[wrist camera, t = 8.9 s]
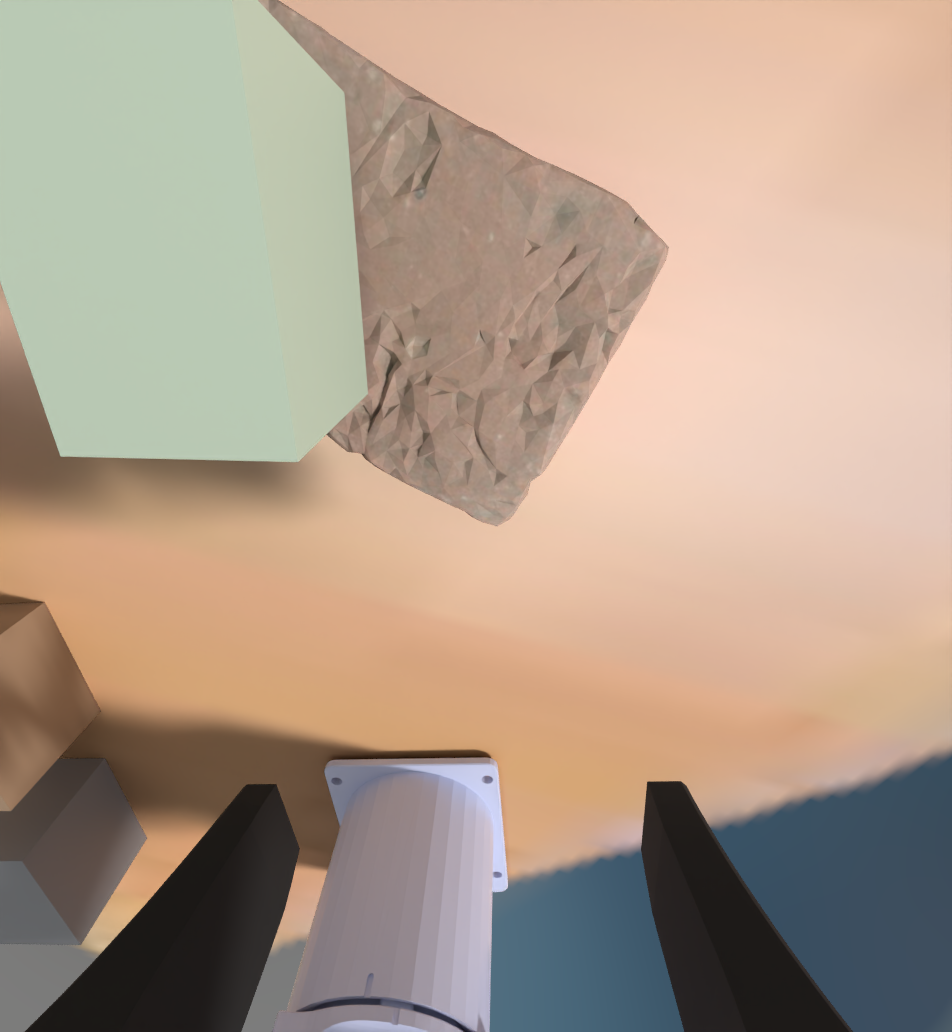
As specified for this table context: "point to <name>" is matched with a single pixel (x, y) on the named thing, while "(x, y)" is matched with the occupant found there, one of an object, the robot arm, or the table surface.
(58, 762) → the grey block
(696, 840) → the robot arm
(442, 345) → the brick
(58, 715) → the walnut block
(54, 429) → the green block
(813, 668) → the table surface
